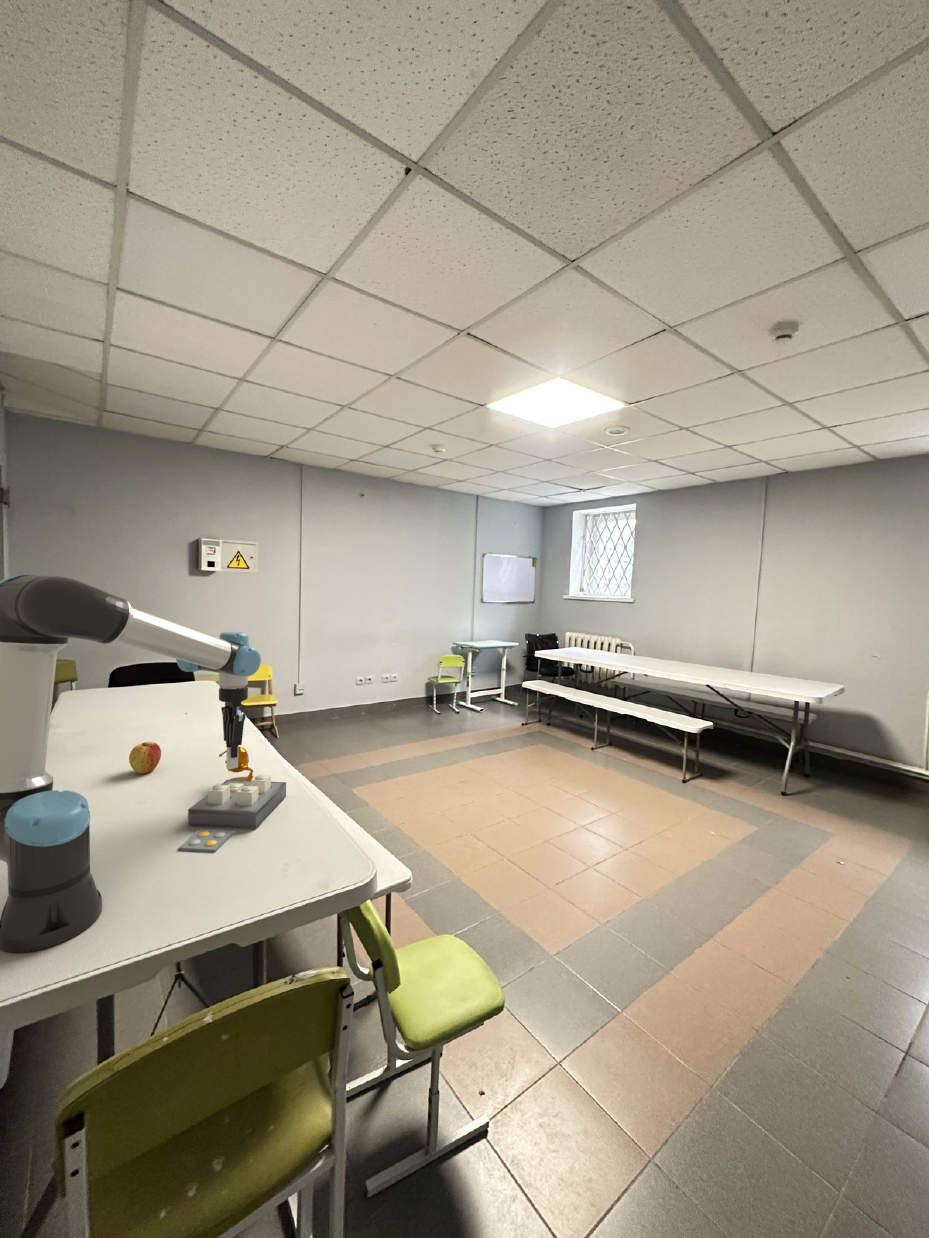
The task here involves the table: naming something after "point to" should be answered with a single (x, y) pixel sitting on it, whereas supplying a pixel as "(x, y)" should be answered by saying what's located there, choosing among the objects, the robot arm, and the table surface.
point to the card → (206, 840)
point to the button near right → (247, 796)
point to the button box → (237, 809)
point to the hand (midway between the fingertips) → (232, 767)
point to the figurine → (241, 764)
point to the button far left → (235, 787)
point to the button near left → (219, 794)
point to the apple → (145, 757)
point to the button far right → (262, 783)
